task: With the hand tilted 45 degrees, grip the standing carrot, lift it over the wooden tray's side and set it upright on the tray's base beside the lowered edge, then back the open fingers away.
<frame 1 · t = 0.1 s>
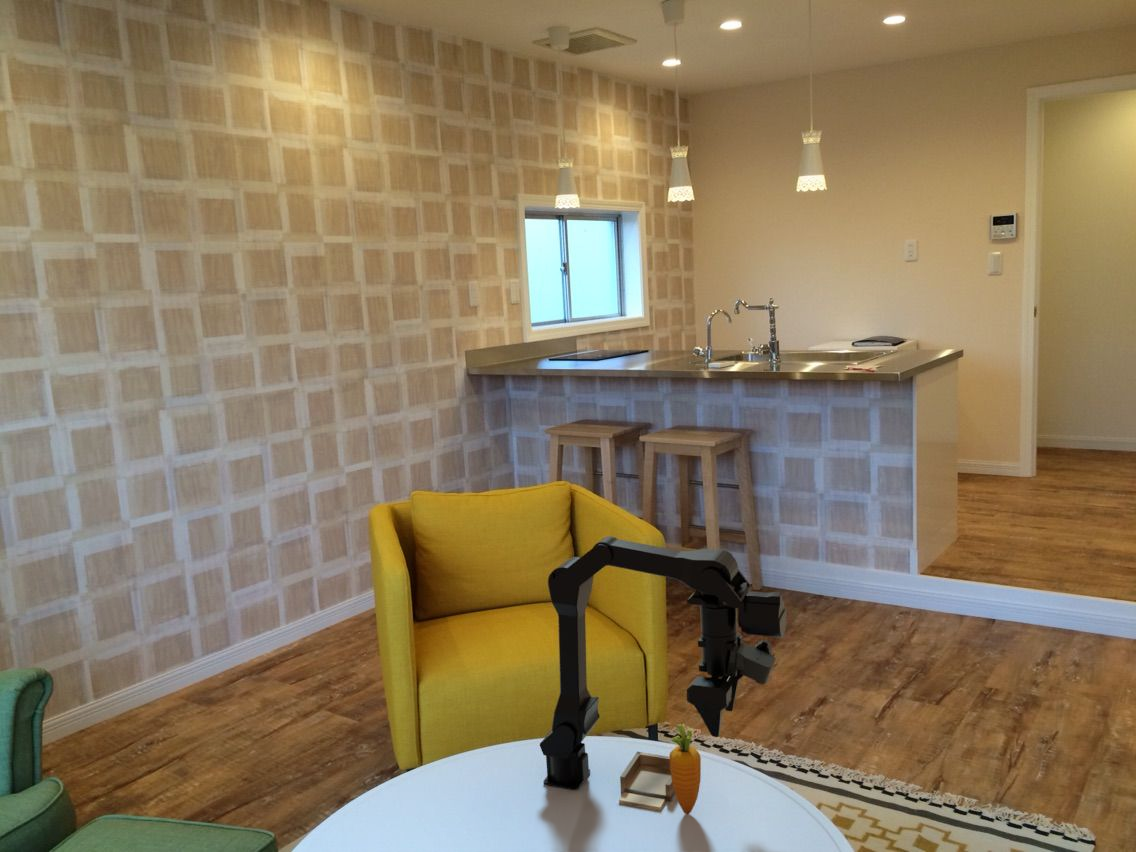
hand: (722, 723, 150), 15 cm above the table, tool pointing down, fingers open, 9 cm apart
wooden tray: (653, 783, 160), on the table
carrot: (687, 815, 150), on the table
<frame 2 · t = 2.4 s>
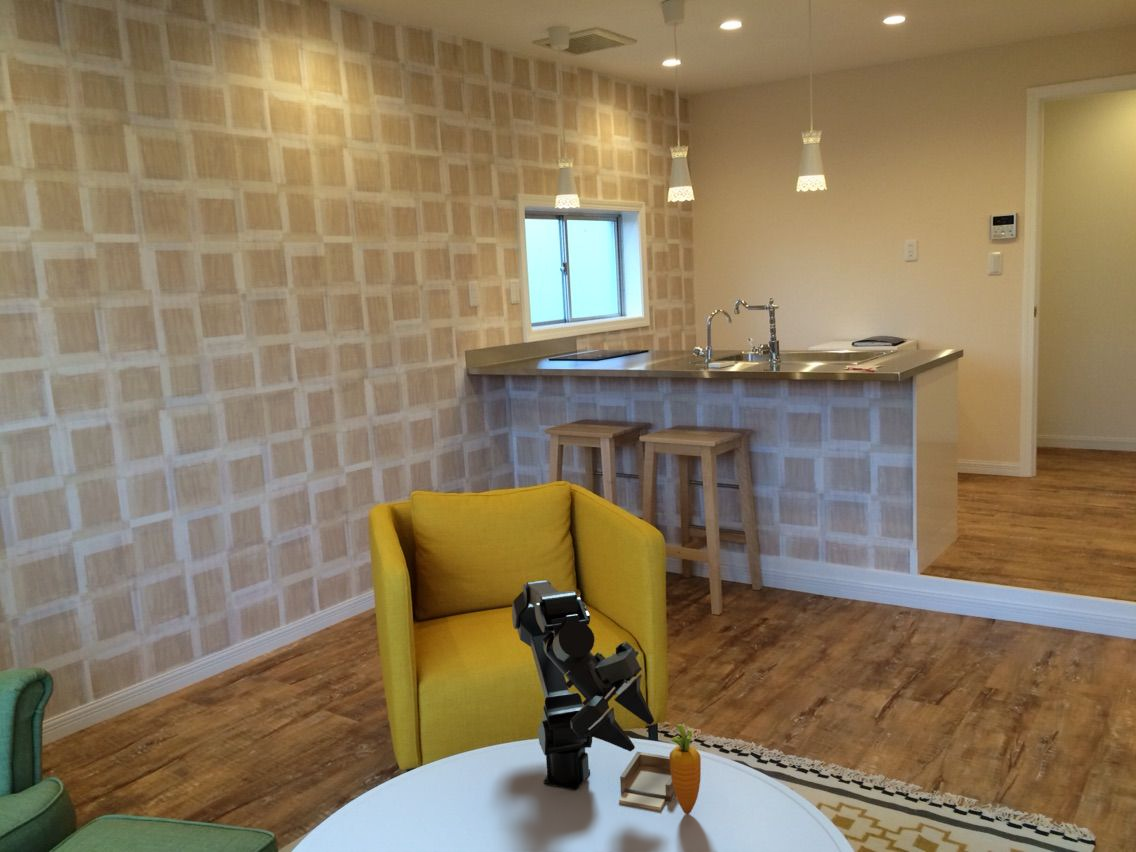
hand: (642, 735, 151), 13 cm above the table, tool tilted 45°, fingers open, 9 cm apart
nothing on the table moved.
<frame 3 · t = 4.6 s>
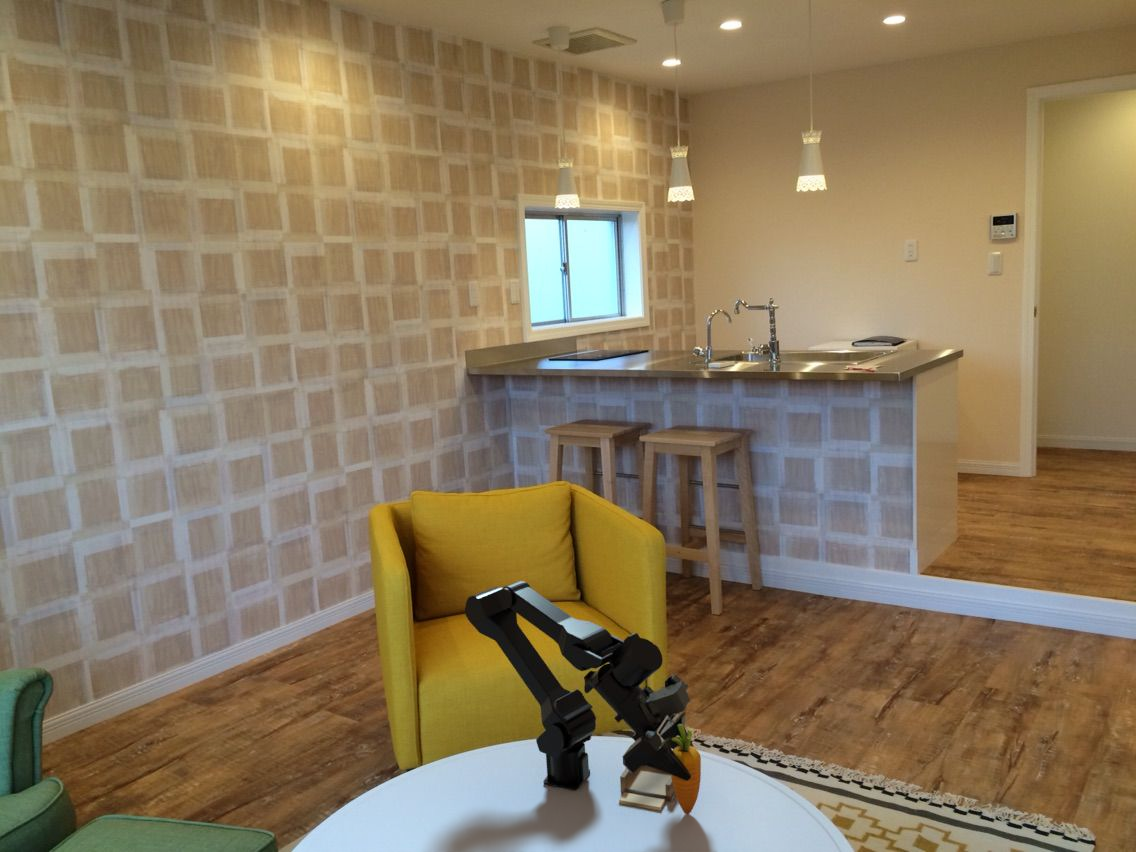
hand: (693, 770, 148), 8 cm above the table, tool tilted 45°, fingers closed on carrot, 5 cm apart
carrot: (687, 815, 150), on the table, touching gripper
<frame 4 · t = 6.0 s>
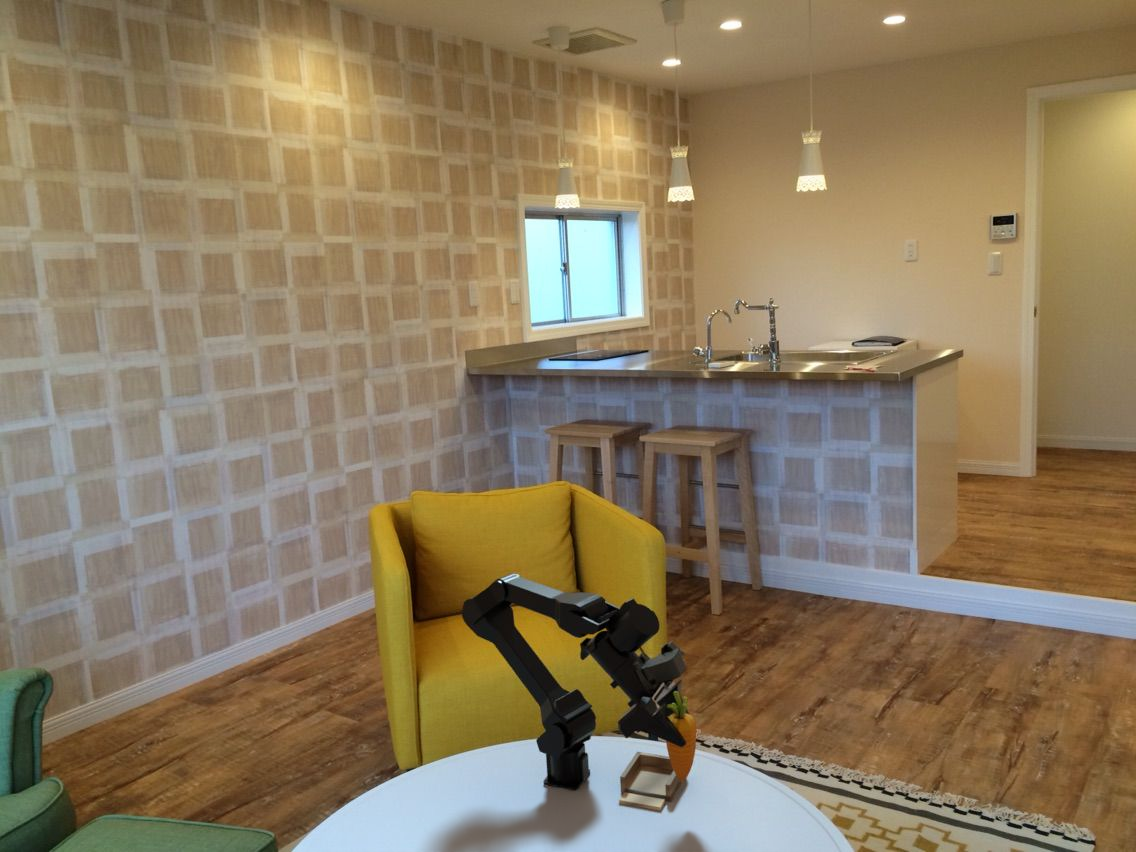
hand: (689, 737, 148), 13 cm above the table, tool tilted 45°, fingers closed on carrot, 5 cm apart
carrot: (682, 782, 150), point 5 cm above the table, touching gripper
when the fingers open (10 cm above the table, at t = 8.0 s): carrot stays where it is, resting on wooden tray.
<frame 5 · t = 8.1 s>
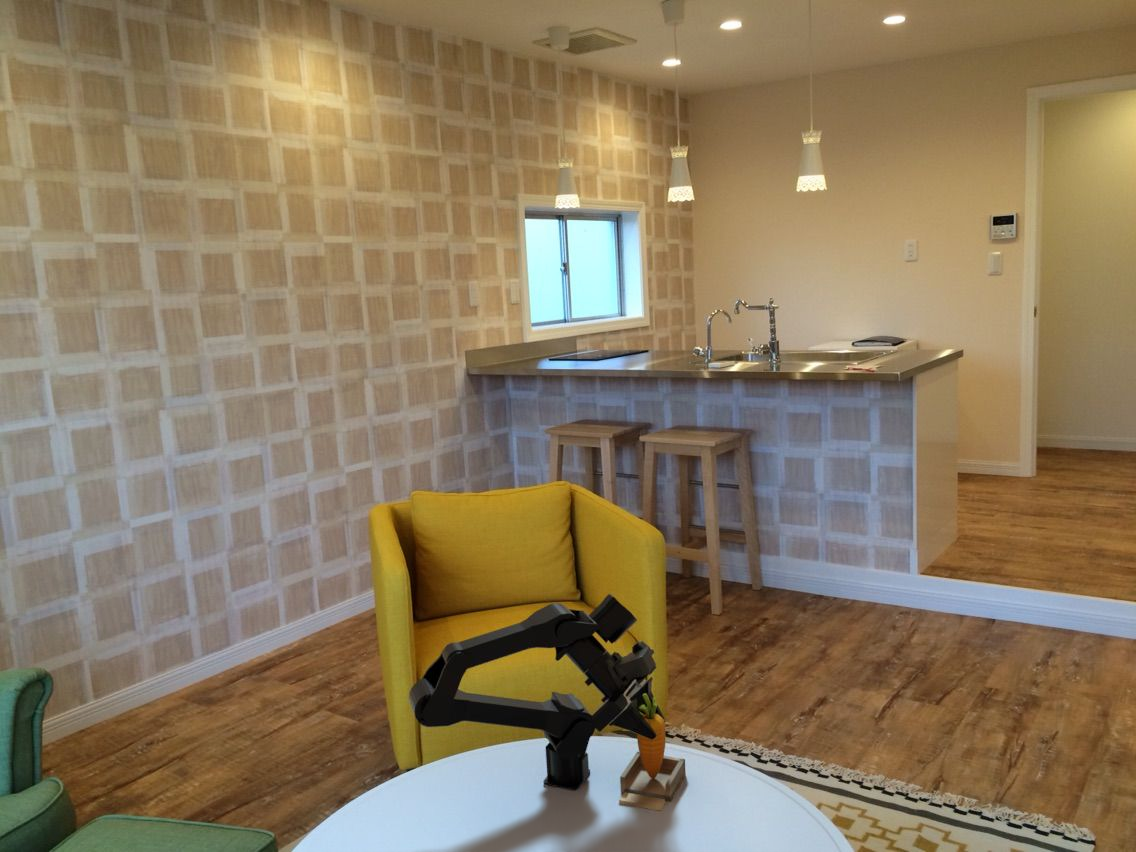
hand: (659, 730, 158), 10 cm above the table, tool tilted 45°, fingers open, 5 cm apart
carrot: (653, 779, 160), point 1 cm above the table, touching wooden tray
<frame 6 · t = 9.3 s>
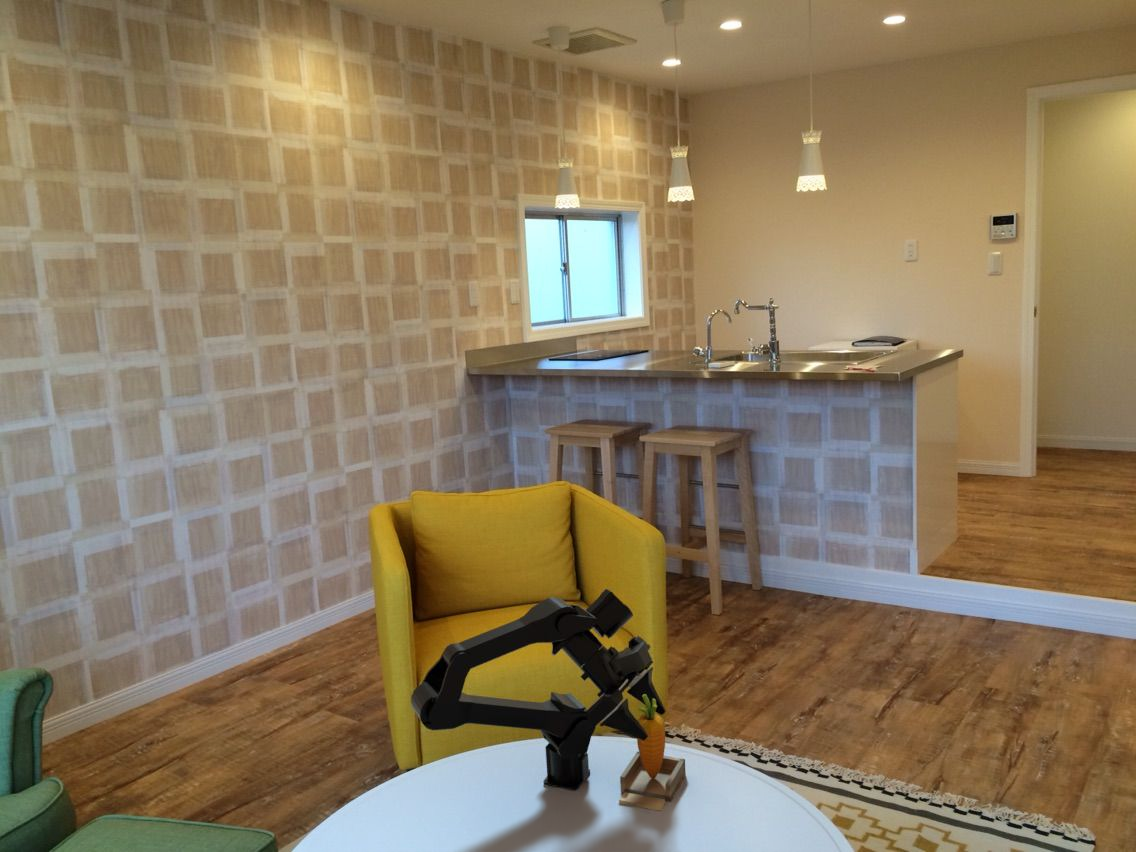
hand: (655, 725, 158), 11 cm above the table, tool tilted 45°, fingers open, 9 cm apart
nothing on the table moved.
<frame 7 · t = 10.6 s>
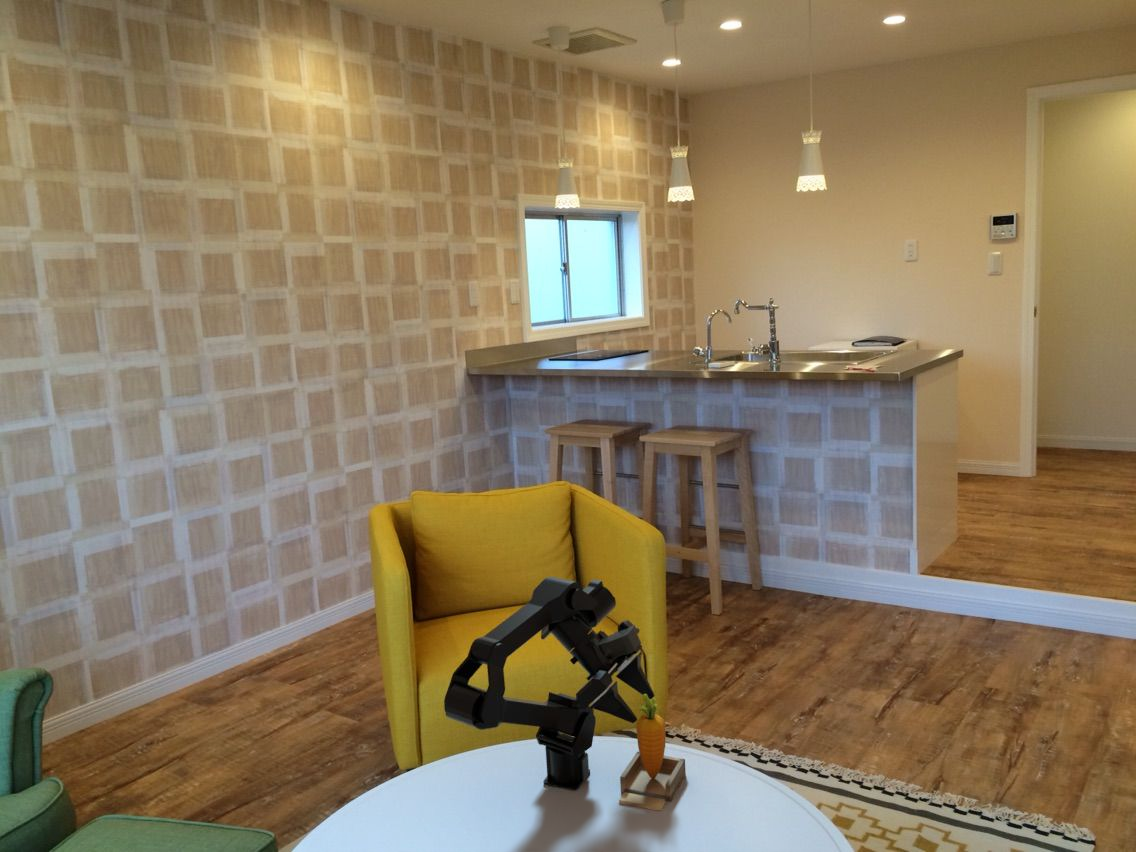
hand: (644, 709, 158), 14 cm above the table, tool tilted 45°, fingers open, 9 cm apart
nothing on the table moved.
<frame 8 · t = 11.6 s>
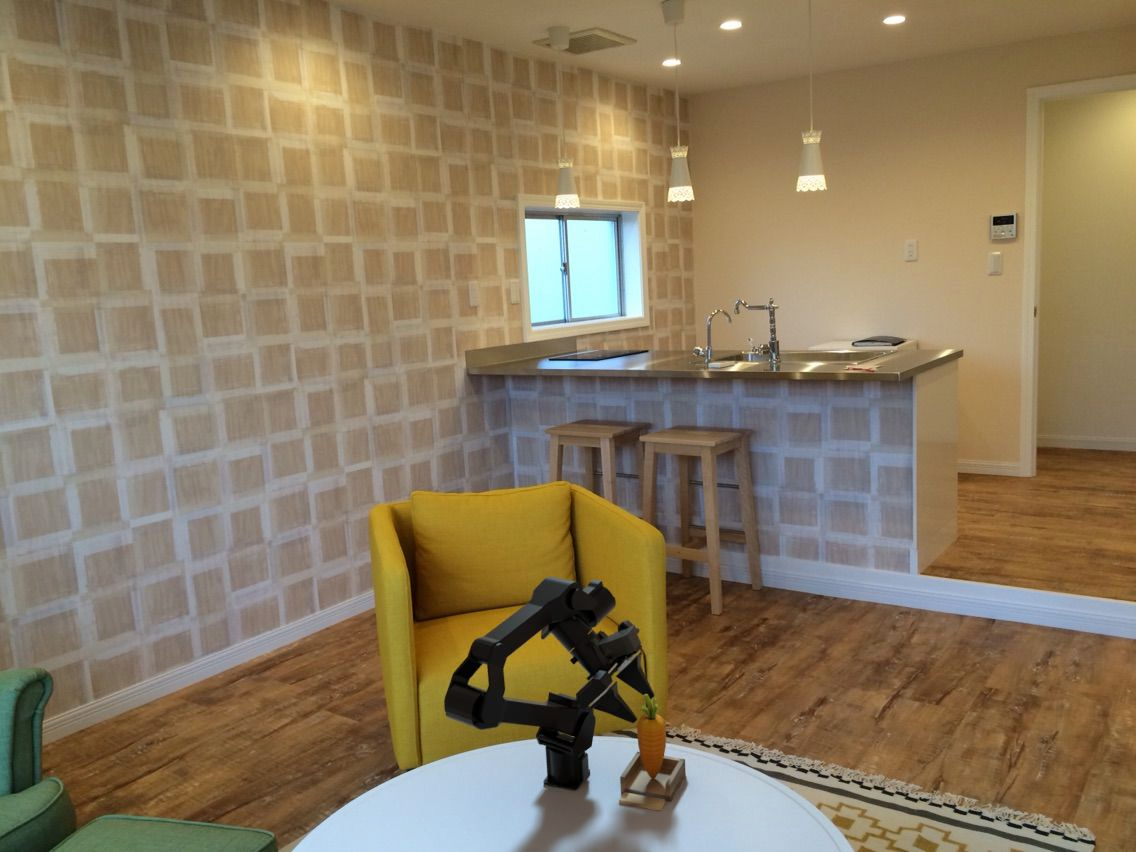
hand: (644, 709, 158), 14 cm above the table, tool tilted 45°, fingers open, 9 cm apart
nothing on the table moved.
at the end: carrot 0.1 cm off-centre on the wooden tray, point 0.8 cm above the wooden tray's base; carrot tilted 0°; the gripper is holding nothing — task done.
